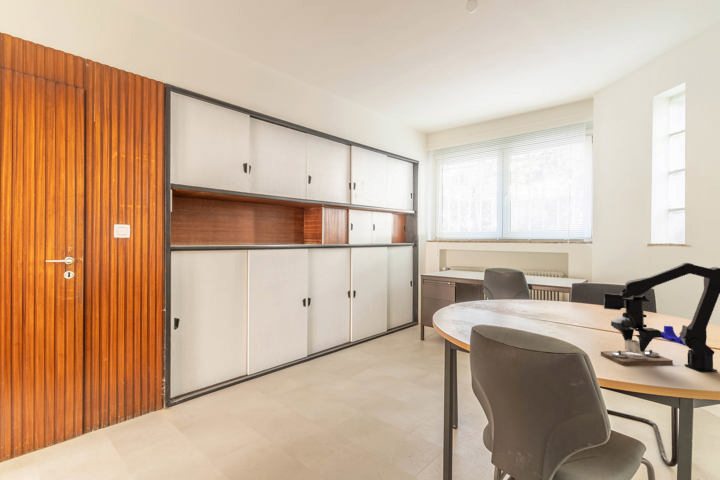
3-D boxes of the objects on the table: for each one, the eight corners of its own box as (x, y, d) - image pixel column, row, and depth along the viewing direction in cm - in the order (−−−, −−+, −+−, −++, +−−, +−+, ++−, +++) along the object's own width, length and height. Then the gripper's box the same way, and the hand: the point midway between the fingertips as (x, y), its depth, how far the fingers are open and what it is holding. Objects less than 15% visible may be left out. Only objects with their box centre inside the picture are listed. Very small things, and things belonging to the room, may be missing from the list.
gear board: (672, 364, 133) (672, 360, 133) (622, 365, 132) (622, 361, 132) (646, 353, 145) (646, 350, 145) (600, 354, 144) (600, 351, 144)
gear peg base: (662, 357, 136) (662, 352, 136) (618, 358, 136) (618, 353, 136) (651, 353, 141) (651, 347, 141) (608, 354, 141) (608, 348, 141)
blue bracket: (660, 337, 168) (660, 325, 168) (670, 337, 167) (670, 325, 167) (679, 345, 156) (679, 332, 156) (690, 345, 155) (690, 332, 155)
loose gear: (649, 353, 135) (649, 343, 135) (633, 354, 135) (633, 343, 135) (636, 348, 142) (635, 338, 142) (621, 348, 141) (621, 339, 141)
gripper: (598, 307, 148) (599, 342, 148) (634, 316, 129) (634, 357, 129) (623, 306, 148) (624, 341, 148) (662, 316, 129) (663, 356, 129)
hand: (635, 348), depth 138 cm, fingers closed on loose gear, 6 cm apart
